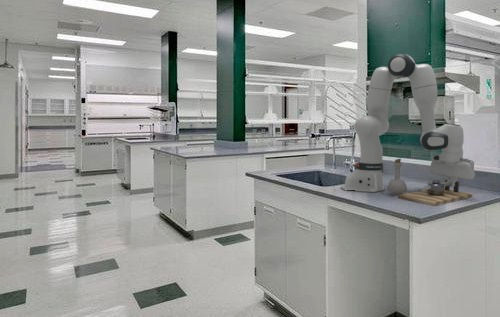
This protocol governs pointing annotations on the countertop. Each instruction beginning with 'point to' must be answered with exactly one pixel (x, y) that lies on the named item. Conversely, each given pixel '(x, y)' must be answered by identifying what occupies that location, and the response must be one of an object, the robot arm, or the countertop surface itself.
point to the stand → (436, 196)
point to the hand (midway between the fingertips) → (451, 186)
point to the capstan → (436, 187)
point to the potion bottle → (397, 181)
